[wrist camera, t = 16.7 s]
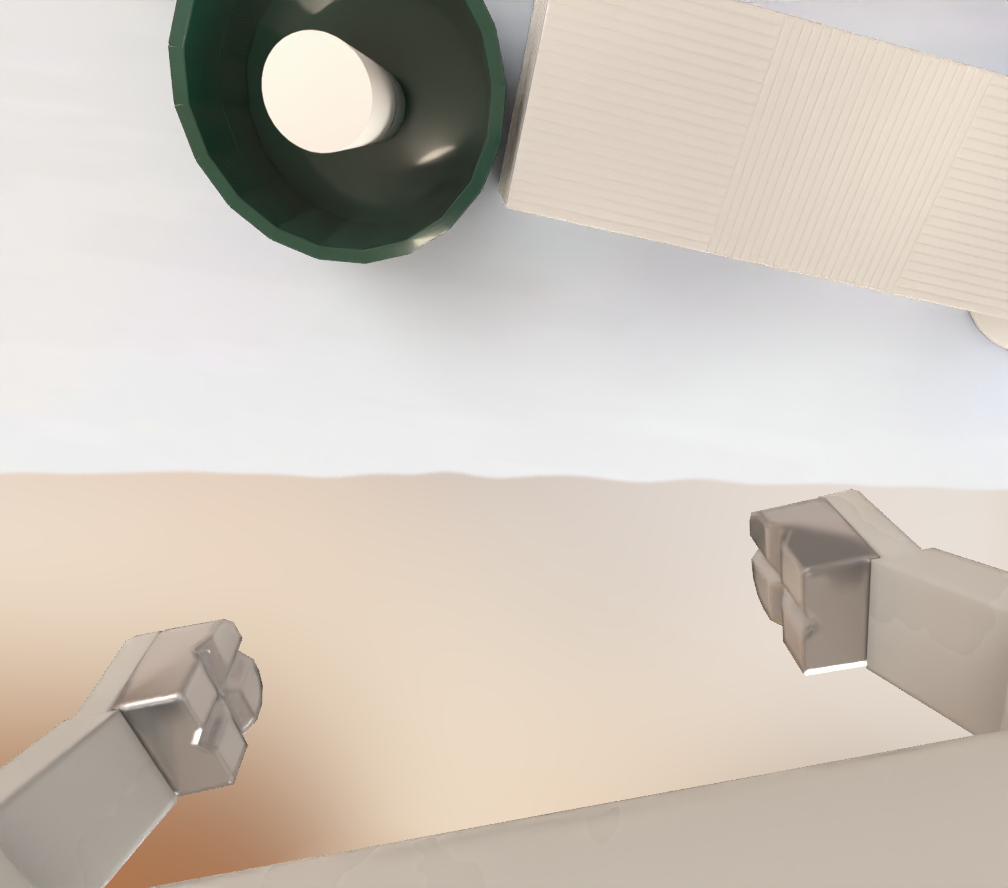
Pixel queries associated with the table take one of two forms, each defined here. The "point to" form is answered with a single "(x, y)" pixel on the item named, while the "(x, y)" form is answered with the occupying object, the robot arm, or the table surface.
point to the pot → (357, 171)
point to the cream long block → (766, 144)
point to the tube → (329, 94)
